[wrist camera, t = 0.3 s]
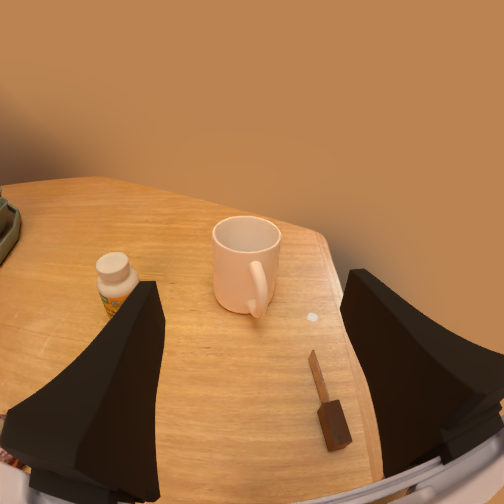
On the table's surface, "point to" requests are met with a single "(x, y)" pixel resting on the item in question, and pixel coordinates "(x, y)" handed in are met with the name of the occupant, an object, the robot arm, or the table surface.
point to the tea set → (8, 226)
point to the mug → (245, 263)
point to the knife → (330, 413)
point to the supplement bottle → (115, 280)
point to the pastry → (3, 455)
